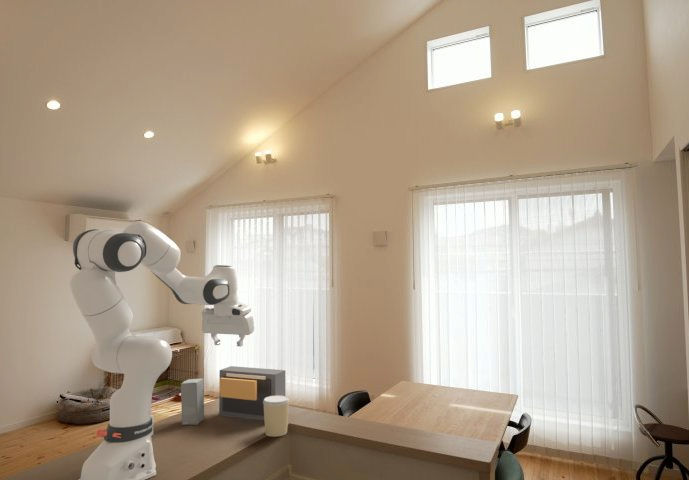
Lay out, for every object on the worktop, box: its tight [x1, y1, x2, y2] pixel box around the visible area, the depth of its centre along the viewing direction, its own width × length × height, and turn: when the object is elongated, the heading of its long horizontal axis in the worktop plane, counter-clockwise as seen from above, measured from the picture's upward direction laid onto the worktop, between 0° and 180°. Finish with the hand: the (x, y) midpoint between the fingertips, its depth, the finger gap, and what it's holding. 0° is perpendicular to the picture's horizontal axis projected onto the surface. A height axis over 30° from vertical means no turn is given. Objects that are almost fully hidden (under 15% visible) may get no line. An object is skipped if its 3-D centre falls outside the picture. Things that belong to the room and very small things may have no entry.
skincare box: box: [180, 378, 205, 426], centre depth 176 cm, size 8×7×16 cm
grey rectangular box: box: [218, 365, 286, 422], centre depth 182 cm, size 9×26×18 cm, turn 69°
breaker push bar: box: [218, 378, 257, 400], centre depth 174 cm, size 3×16×7 cm, turn 69°
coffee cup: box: [263, 395, 290, 438], centre depth 163 cm, size 9×9×12 cm
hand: (228, 345), depth 167 cm, fingers open, 8 cm apart
